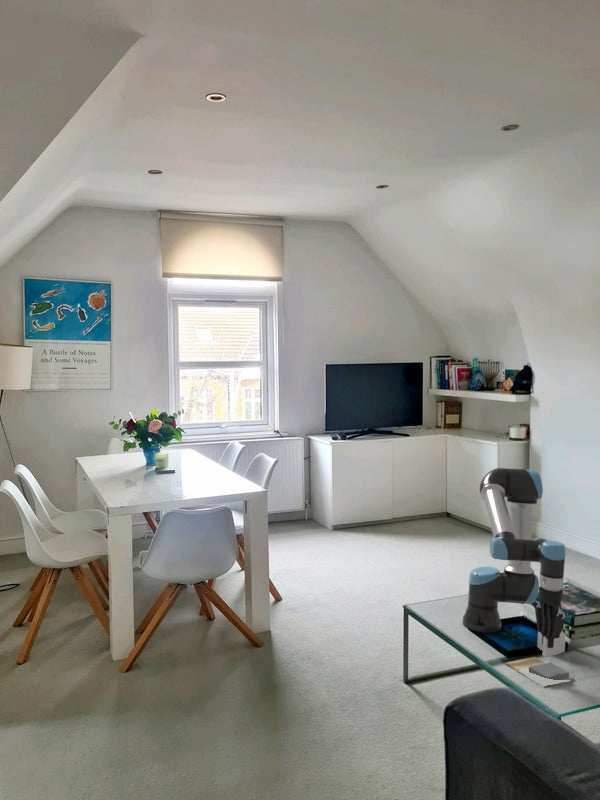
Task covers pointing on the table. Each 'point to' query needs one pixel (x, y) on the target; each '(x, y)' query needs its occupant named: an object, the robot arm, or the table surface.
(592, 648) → the table surface
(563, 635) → the medicine bottle
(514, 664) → the mat
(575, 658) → the table surface
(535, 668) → the tile
